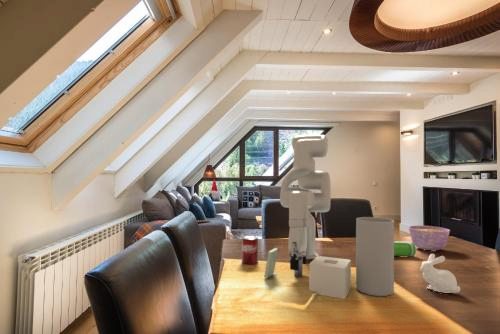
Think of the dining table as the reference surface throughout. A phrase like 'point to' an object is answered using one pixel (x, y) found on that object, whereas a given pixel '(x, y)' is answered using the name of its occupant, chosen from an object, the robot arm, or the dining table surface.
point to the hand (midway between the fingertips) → (298, 266)
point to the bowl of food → (429, 237)
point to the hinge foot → (271, 276)
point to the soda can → (250, 250)
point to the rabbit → (439, 276)
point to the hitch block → (330, 276)
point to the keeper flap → (271, 262)
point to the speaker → (404, 248)
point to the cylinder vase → (375, 256)
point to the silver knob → (300, 265)
